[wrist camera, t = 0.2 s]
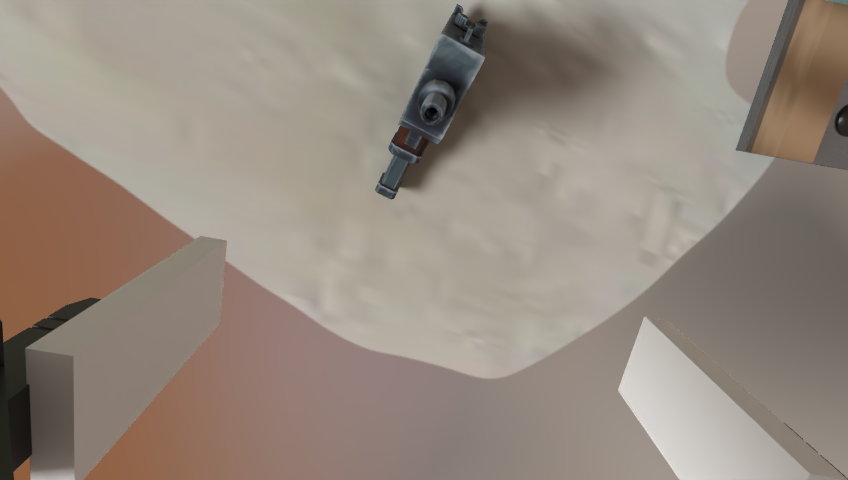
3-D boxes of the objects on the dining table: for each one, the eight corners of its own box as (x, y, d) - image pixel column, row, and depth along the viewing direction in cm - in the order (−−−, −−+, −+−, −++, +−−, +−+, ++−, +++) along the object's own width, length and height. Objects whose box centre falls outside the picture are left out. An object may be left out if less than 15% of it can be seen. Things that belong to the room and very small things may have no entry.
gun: (330, 265, 29) (443, 26, 22) (380, 165, 44) (458, 1, 36) (370, 283, 29) (494, 55, 22) (406, 178, 44) (489, 19, 37)
